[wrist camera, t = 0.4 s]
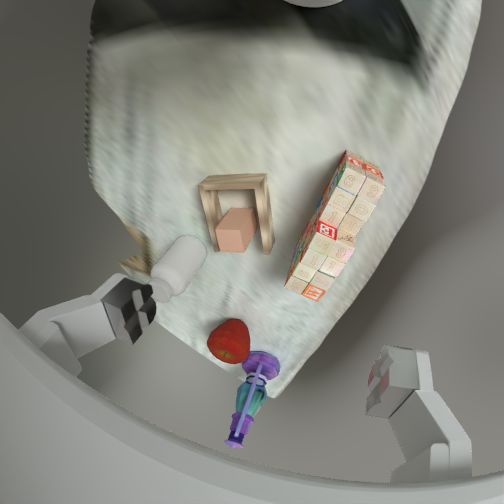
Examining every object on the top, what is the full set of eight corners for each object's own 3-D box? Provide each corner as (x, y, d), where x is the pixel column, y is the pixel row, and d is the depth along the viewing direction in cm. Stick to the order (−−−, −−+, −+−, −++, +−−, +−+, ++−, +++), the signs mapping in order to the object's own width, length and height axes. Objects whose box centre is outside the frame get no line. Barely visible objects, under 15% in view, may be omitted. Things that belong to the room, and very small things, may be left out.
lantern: (278, 374, 85) (251, 457, 62) (244, 364, 87) (212, 445, 65) (285, 354, 77) (256, 449, 54) (246, 343, 79) (209, 435, 56)
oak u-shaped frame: (208, 175, 50) (198, 185, 47) (266, 173, 47) (259, 183, 44) (223, 239, 58) (214, 251, 55) (274, 241, 55) (269, 254, 52)
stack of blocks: (345, 148, 40) (347, 174, 31) (379, 165, 40) (390, 197, 31) (296, 245, 54) (283, 288, 45) (324, 258, 54) (317, 303, 45)
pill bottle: (181, 227, 60) (143, 270, 49) (212, 246, 60) (180, 293, 49) (172, 250, 65) (138, 293, 54) (201, 268, 66) (171, 314, 54)
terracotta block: (231, 207, 53) (215, 229, 47) (253, 207, 52) (239, 230, 46) (235, 227, 56) (220, 251, 50) (257, 228, 54) (244, 252, 48)
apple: (213, 308, 73) (195, 343, 64) (250, 309, 69) (235, 347, 60) (227, 334, 79) (212, 368, 70) (262, 336, 75) (249, 373, 66)
